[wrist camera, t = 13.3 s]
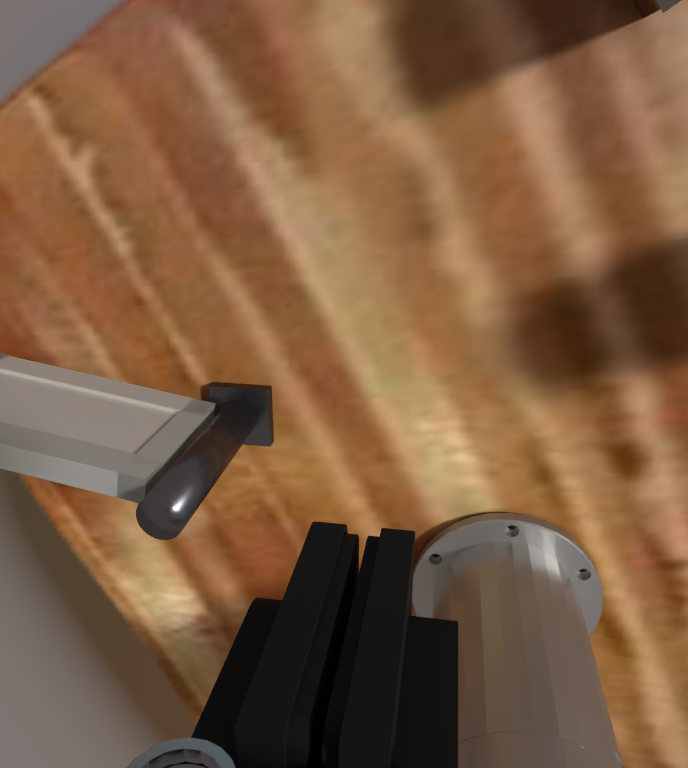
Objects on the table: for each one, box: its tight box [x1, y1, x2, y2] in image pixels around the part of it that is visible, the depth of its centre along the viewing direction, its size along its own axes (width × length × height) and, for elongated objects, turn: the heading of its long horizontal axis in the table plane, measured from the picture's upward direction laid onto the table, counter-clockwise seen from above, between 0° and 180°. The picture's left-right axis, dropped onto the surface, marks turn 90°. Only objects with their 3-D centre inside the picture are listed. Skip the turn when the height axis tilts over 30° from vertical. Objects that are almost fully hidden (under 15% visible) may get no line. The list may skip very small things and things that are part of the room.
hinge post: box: [136, 382, 274, 540], centre depth 37 cm, size 4×4×13 cm
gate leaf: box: [0, 354, 215, 503], centre depth 38 cm, size 16×2×10 cm, turn 80°
